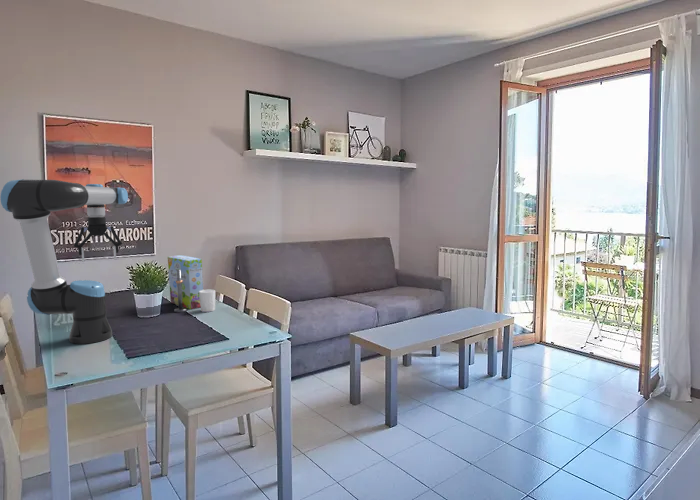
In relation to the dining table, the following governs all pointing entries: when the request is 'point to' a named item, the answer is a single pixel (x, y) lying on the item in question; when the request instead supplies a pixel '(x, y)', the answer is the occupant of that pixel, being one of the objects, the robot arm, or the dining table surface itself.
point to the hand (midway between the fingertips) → (99, 260)
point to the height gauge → (179, 293)
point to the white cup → (207, 300)
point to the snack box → (186, 280)
